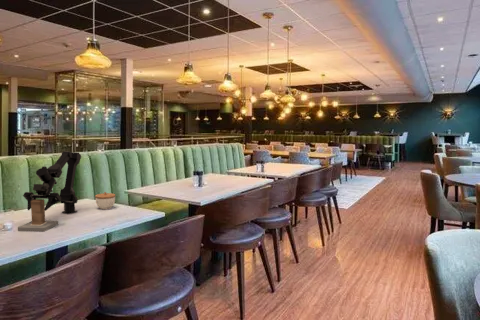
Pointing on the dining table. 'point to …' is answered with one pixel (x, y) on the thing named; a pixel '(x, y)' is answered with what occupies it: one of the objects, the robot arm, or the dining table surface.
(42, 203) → the walnut pillar
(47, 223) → the foundation slab
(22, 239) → the dining table surface
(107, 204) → the lidded bowl
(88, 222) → the dining table surface
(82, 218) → the dining table surface
